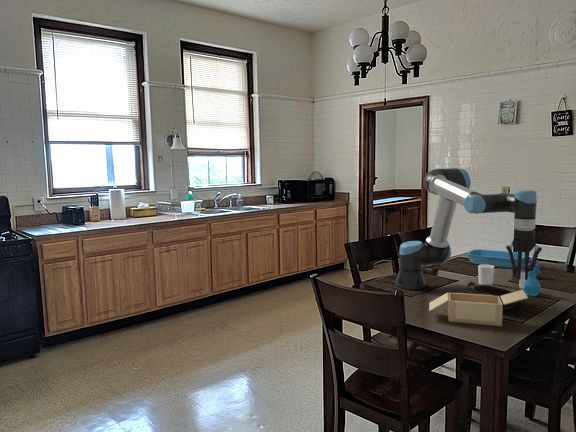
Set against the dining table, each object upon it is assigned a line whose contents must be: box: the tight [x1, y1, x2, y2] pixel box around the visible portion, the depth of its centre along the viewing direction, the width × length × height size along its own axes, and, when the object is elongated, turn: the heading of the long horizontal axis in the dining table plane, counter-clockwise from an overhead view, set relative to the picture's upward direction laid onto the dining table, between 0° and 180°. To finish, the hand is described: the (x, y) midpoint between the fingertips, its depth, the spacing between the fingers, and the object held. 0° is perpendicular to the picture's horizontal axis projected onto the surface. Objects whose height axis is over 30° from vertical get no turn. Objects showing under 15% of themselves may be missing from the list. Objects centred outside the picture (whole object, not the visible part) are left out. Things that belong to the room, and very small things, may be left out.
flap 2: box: [500, 289, 529, 305], centre depth 186 cm, size 9×11×1 cm
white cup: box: [477, 264, 495, 285], centre depth 244 cm, size 8×8×10 cm
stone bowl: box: [465, 281, 519, 311], centre depth 210 cm, size 25×25×9 cm
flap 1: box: [428, 292, 449, 312], centre depth 195 cm, size 9×11×1 cm
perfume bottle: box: [520, 263, 542, 297], centre depth 226 cm, size 9×9×15 cm
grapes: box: [521, 256, 541, 278], centre depth 258 cm, size 12×7×12 cm, turn 57°
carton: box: [447, 292, 504, 327], centre depth 191 cm, size 20×13×9 cm, turn 72°
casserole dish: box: [465, 248, 525, 269], centre depth 292 cm, size 37×22×7 cm, turn 52°
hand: (521, 287), depth 185 cm, fingers closed
